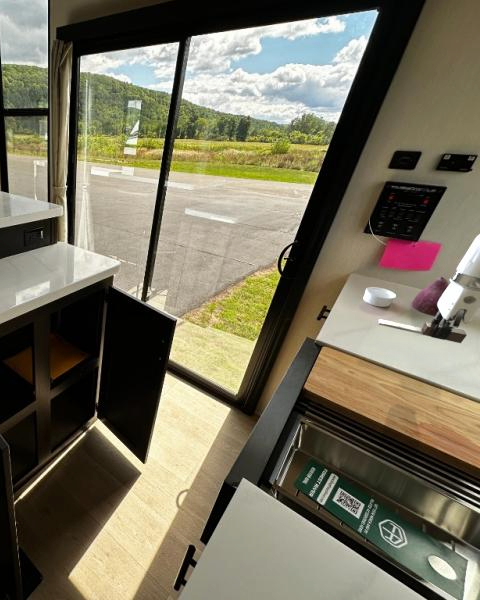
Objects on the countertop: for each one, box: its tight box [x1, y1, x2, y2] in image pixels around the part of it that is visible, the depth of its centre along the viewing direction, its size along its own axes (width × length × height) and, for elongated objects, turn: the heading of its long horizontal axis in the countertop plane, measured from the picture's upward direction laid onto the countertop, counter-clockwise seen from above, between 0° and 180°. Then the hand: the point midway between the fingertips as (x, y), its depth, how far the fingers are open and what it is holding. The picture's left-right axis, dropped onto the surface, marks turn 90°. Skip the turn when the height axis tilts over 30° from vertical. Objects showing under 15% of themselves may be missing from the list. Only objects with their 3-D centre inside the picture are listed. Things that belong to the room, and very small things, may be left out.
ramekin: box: [363, 286, 397, 308], centre depth 122 cm, size 9×9×4 cm
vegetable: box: [411, 275, 450, 316], centre depth 114 cm, size 10×10×15 cm
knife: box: [377, 318, 468, 344], centre depth 94 cm, size 18×3×3 cm, turn 56°
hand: (436, 334), depth 93 cm, fingers closed on knife, 2 cm apart
